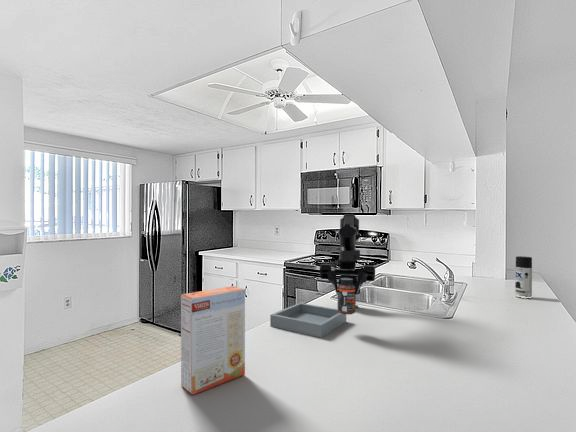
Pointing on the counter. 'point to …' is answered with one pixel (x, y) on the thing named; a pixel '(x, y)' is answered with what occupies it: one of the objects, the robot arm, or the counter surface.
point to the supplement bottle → (346, 296)
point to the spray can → (523, 276)
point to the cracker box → (212, 337)
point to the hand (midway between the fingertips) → (346, 293)
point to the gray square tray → (308, 319)
